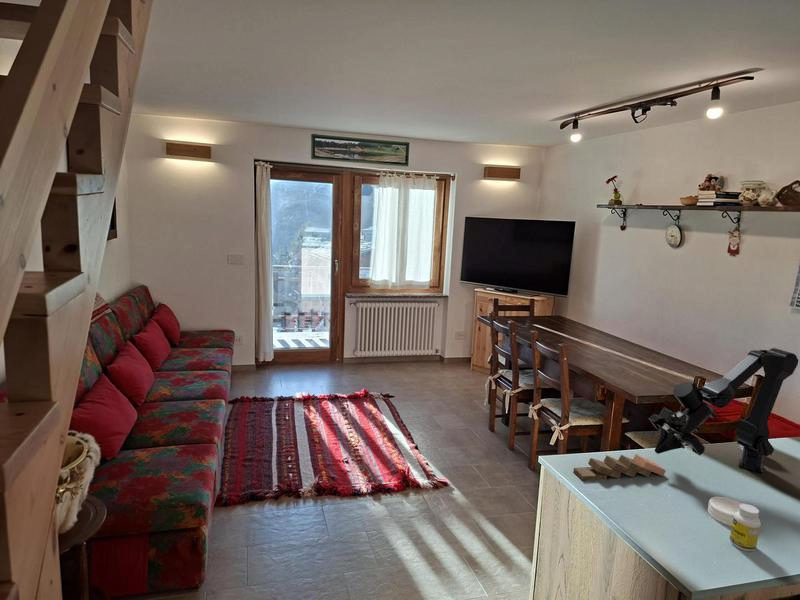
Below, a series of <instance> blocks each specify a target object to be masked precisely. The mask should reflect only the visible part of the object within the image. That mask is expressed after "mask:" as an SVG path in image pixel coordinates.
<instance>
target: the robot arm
mask: <svg viewBox="0 0 800 600" xmlns="http://www.w3.org/2000/svg"><path fill="white" fill-rule="evenodd" d="M798 365H799V359H798V356H797V355H796V354H795V353H793V352H790V351H787V350H782V349H779V348H776V347H774V348H773V347H772V348H770V349H758V350H756V349H753V350H750V351H749V352H747V356H746V357H744V358H743V359H742V360H741V361H740V362H739V363H738V364H736V365H735V366H734V367H733V368H731V369H730V370H729V371H728V372H727V373H726V374H725V375H724V376H722V377H721V378H719V379H715V380H711V381H710V382H708V383H706V384H705V385H704V386H702V387H698V386H697V383H696V382H695V381H692V380H688V381H687V382H682V383H679V384H676V385H675V386H674V388H673V389H672V395H674V396H675V398H676V399H677V400H678V402H679V403H680V404H681V406H682V407H683V408H685V409H684V410H683V411H681V410H679V411H676V412H674V411H672V410H670V409H668V408H666V407H663V408H662V409H661V411H660V413H659V414H657V413H654V414H651V416H650V417H648V421H650V422H651V424H652V425H653V427H655V429H657V431H658V432H660V437H659V440H658V442H657V444H656V445H655V448H654V452H655V453H656V454H657V455H659V454H663V453H666V452H669V451H672V450H673V451H674V450H677V449H678V450H679V449H683V450H684V449H685V448H686V447H685V445H689V446H691V450H692V452H693V453H694V454H696V455H698V456H702V454H703V453H704V452H705V451H706V450H705V449H706V447H705V445H704V444H703V443H702V442H701V441H700V439H699V438H698V437H697V436H695V435H693V433H694V432H695V431H696V432H699V431H701V428H700V426H701V425H702V424H703V423H704V422H705V421H706V420H707V419H709V417H710V418H712V419H714V420H715V419H716V417H717V415H716V411H717V410H716V409H714V408H713V407H715V408H718V409H725V408H726V407H727V406H728V405H730V402H732V401H733V399H734V398H735V393H736V391H737V390H738V388H740V387H741V386H742V385H744V384H745V383H746V382H747V381H748V380H749V379H750V378H752V377H753V376H754V375H755V374H756V373H757V372H759V370H761V369H763V372H764V376H763V378H762V380H761V384H760V386H759V388H758V391H757V394H756V395H755V396H756V397H755V399H754V401H753V404H752V407H751V410H750V412H749V415H748V416H747V417H745V418H744V419H742V418H739V419H738V422H737V425H736V427H735V428H734V431H735V433H734V436H736V443H737V444H738V445H739V444H740V445H742V446H744V447H743V451H742V453H741V458H739V461H738V464H737V467H738V468H742V469H746V470H749V471H753V472H756V473H759V474H763V472H764V464H763V463H764V457H769V456H772V454H773V453H774V451H775V448H774V447H773V445H772V444H771V442H770V441H769V438H770V433H771V432H770V428H769V425H768V421H769V419H770V417H771V413H772V410H773V409H774V406H775V403H776V401H777V399H778V398H777V397H778V395H779V393H780V390H781V388H782V384H783V383H784V381H785V380H786V379H787V378H789V377H791V376H792V375H793V374H794V372H795V371H796V368H797V366H798ZM710 406H713V407H710Z"/></svg>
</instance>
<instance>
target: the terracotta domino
mask: <svg viewBox="0 0 800 600" xmlns="http://www.w3.org/2000/svg"><path fill="white" fill-rule="evenodd" d="M632 460H634V461H635V462H637V463H638V464H639V465H640V466H642V467H643V468H645V469H648V470H650V471H651V473H655V474H658V475H660V476H662V477H664V475H665V473H666V472H667V470H666V469H665V468H663V466H661V465H659V464H658V463H657V462H655V461H652V460H650V459H648V458H645V457H643V456H642V455H639V454H634V457H633V459H632Z"/></svg>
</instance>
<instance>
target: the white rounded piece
mask: <svg viewBox="0 0 800 600" xmlns="http://www.w3.org/2000/svg"><path fill="white" fill-rule="evenodd" d="M740 504H744V503H743V502H741V501H739V500H736V499H734V498H731V497H725V496H712V497H710V499H709V500H708V504H707V506H708V507H707V509H706V510H707V513H708V515H709V516H711V518H713V520H716V521H717V522H718V523H720V524H722V525H726V526H728V527H731V528H732V524H733V518H734V514H735V513H736V512H739V506H740Z"/></svg>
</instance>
